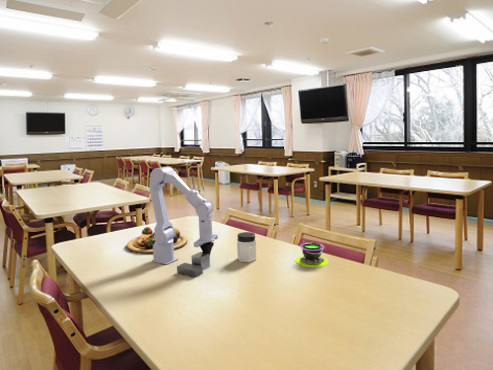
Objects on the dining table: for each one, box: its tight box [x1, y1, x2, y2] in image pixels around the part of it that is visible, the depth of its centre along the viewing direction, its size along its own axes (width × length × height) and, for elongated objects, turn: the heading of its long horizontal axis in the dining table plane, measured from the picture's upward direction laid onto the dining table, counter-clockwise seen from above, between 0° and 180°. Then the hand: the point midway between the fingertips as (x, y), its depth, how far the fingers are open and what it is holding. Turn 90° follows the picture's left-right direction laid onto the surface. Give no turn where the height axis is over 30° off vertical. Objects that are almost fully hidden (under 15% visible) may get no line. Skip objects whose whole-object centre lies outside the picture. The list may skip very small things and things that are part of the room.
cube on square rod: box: [190, 251, 211, 271], centre depth 153 cm, size 5×6×6 cm
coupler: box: [176, 262, 204, 278], centre depth 151 cm, size 10×14×3 cm
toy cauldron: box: [295, 237, 330, 268], centre depth 157 cm, size 15×15×11 cm
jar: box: [236, 231, 257, 263], centre depth 162 cm, size 9×8×12 cm
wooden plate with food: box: [126, 226, 188, 255], centre depth 188 cm, size 32×32×8 cm
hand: (207, 258), depth 156 cm, fingers closed
